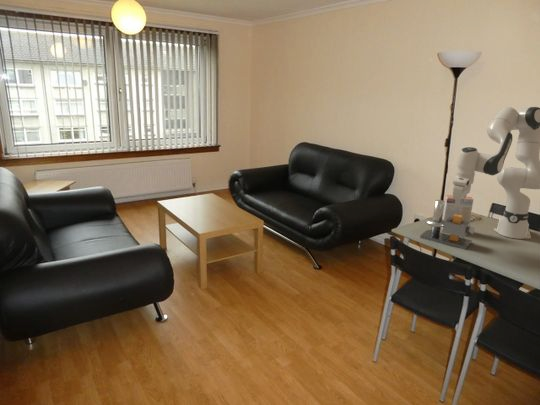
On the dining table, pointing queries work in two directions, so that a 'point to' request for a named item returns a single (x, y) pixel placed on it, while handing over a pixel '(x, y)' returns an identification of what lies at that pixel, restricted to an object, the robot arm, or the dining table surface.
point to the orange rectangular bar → (456, 220)
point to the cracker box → (457, 208)
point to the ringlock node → (447, 228)
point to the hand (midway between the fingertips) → (459, 204)
